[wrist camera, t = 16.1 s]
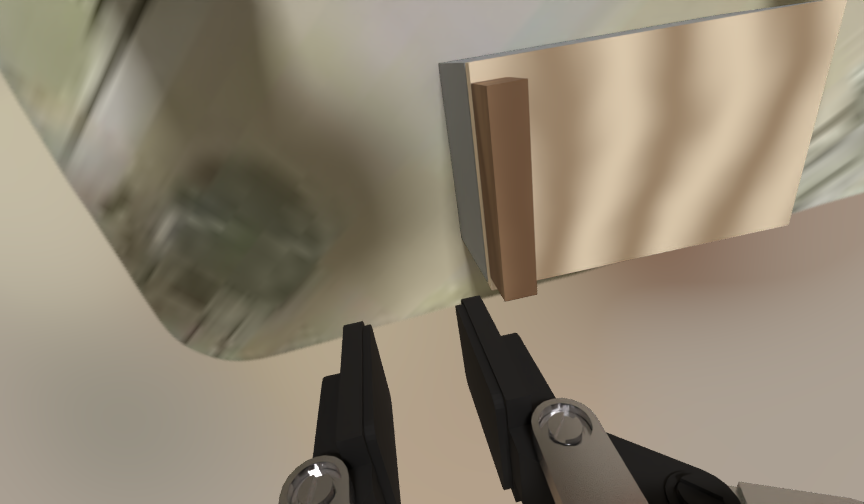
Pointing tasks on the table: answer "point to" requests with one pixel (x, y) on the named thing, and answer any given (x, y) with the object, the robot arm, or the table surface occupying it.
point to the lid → (645, 140)
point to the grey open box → (463, 137)
